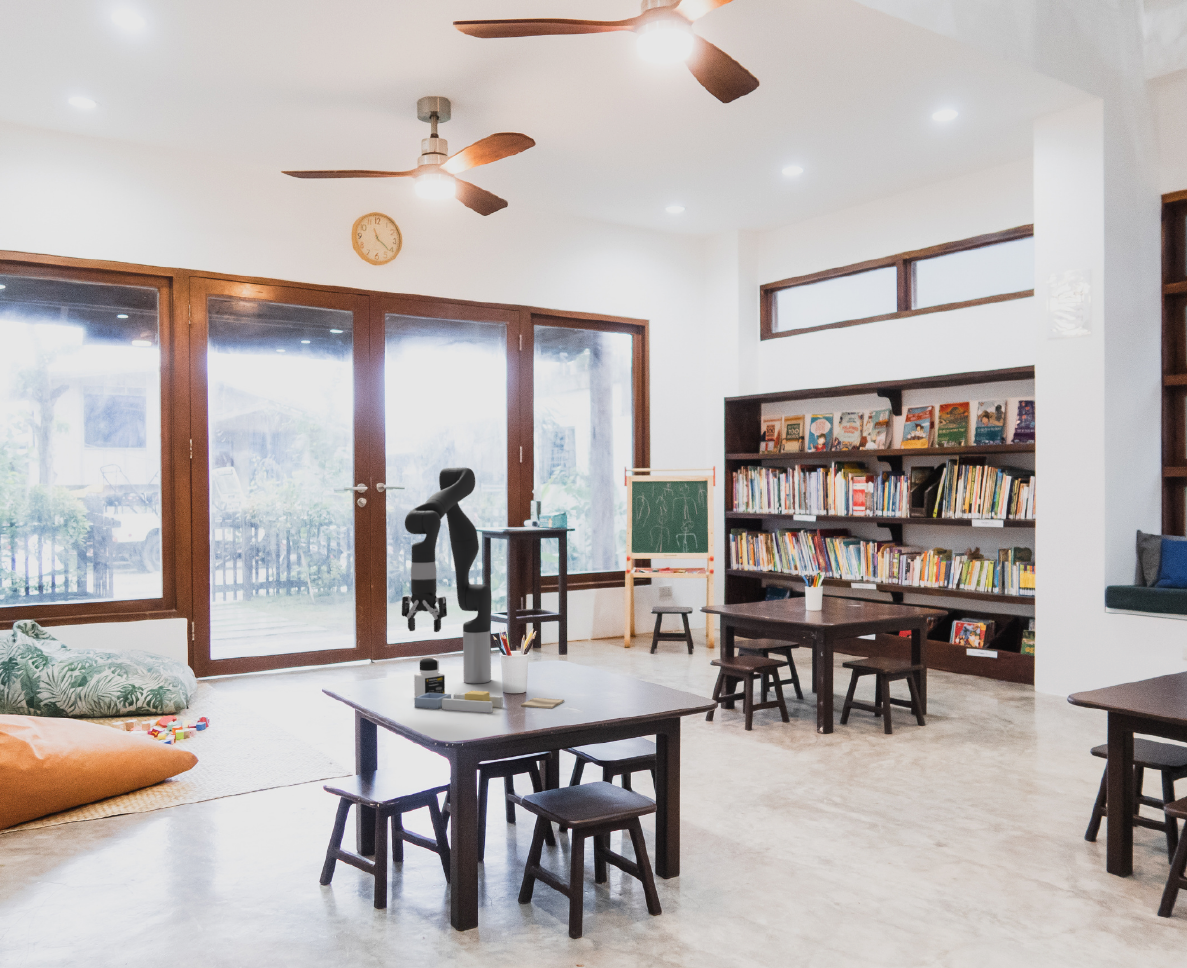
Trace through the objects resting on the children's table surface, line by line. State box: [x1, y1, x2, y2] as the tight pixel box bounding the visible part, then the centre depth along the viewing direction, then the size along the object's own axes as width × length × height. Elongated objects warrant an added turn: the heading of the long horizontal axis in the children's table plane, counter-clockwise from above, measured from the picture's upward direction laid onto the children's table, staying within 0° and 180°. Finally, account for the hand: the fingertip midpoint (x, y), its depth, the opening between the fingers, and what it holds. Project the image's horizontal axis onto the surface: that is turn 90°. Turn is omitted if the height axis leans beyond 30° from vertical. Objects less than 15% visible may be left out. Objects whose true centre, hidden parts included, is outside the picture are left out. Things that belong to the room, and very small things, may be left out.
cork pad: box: [520, 697, 565, 709], centre depth 284 cm, size 10×10×1 cm
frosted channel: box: [441, 693, 504, 714], centre depth 280 cm, size 16×8×3 cm, turn 70°
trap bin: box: [414, 693, 452, 710], centre depth 284 cm, size 8×8×3 cm
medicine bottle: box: [413, 657, 446, 698], centre depth 297 cm, size 7×7×12 cm
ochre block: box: [464, 690, 491, 701], centre depth 279 cm, size 4×6×5 cm
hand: (424, 631), depth 281 cm, fingers open, 8 cm apart
